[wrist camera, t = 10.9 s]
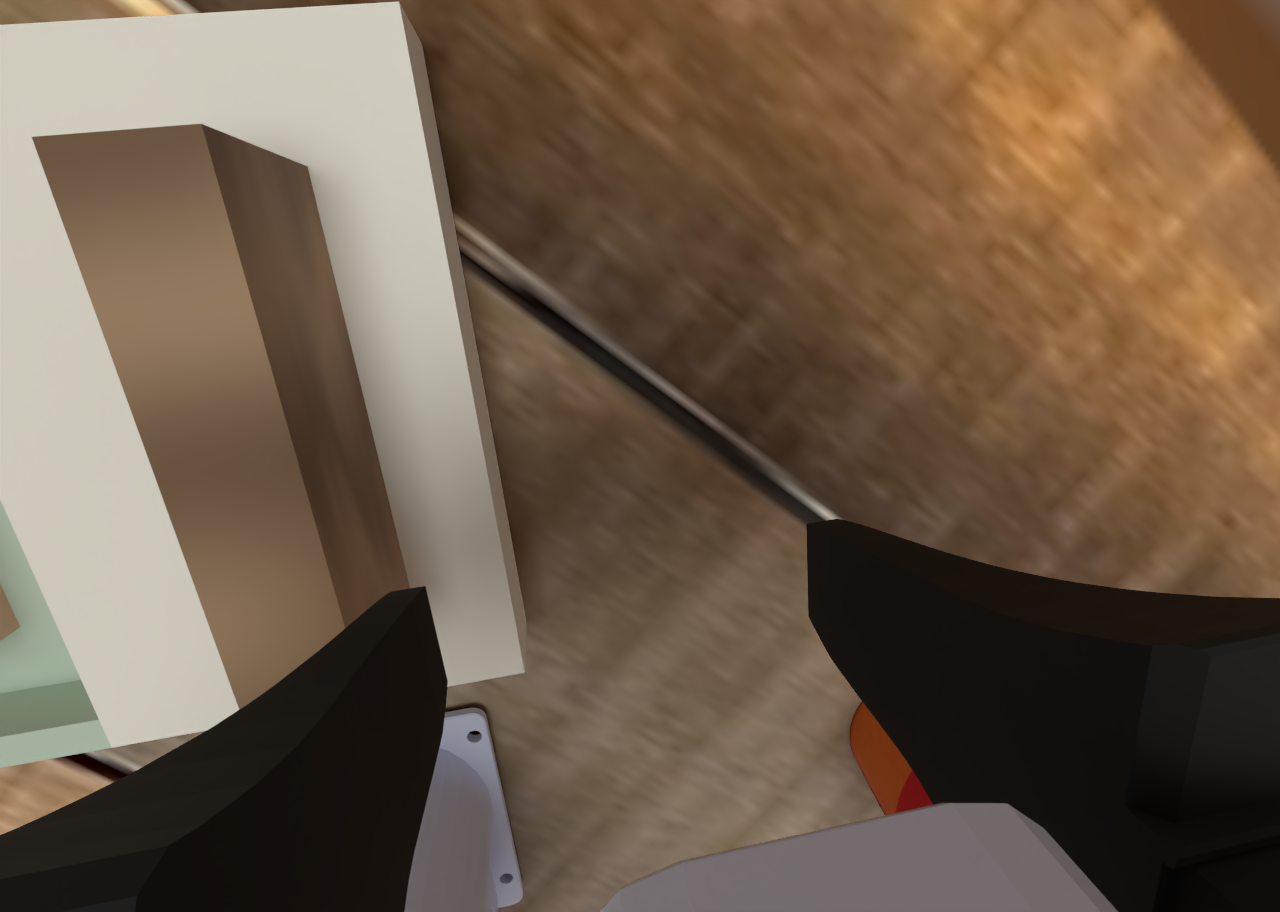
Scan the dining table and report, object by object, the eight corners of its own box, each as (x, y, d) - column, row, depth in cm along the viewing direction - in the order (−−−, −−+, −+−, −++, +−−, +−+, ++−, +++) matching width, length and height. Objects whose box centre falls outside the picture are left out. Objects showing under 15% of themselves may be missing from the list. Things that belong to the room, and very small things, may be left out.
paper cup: (1005, 755, 28) (1414, 1189, 15) (847, 821, 28) (1123, 1322, 15) (979, 615, 26) (1443, 990, 13) (804, 685, 25) (1092, 1145, 12)
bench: (526, 621, 23) (524, 672, 20) (167, 682, 21) (111, 747, 18) (421, 44, 17) (399, 1, 14) (-74, 77, 16) (-208, 37, 13)
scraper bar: (415, 609, 19) (373, 728, 14) (326, 624, 18) (254, 750, 14) (307, 166, 15) (201, 123, 10) (194, 176, 15) (30, 136, 10)
